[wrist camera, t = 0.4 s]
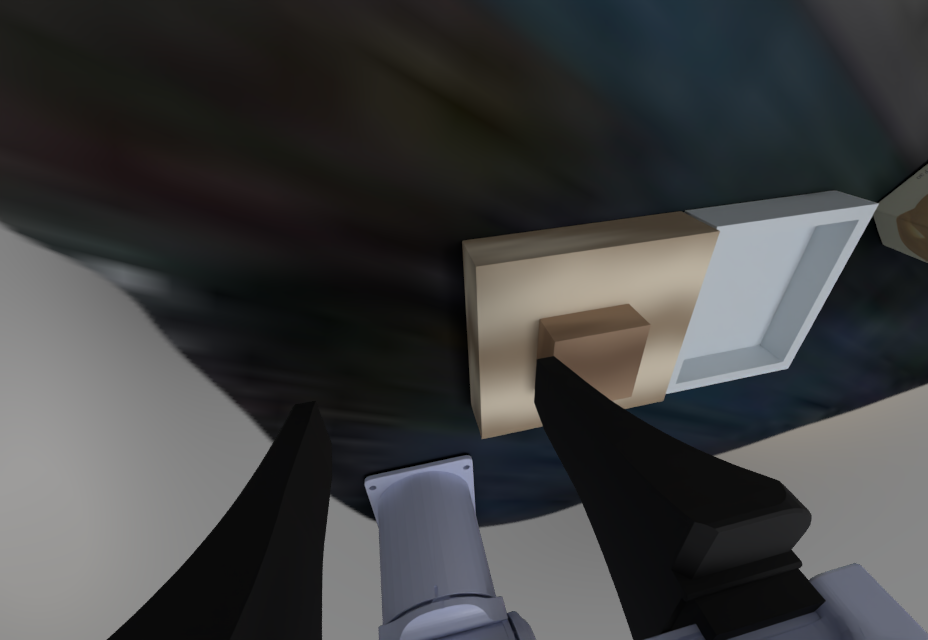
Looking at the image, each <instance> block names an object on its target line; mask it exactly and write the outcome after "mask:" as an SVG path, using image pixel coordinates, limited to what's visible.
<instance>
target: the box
mask: <svg viewBox="0 0 928 640" xmlns="http://www.w3.org/2000/svg"><path fill="white" fill-rule="evenodd" d="M878 205H879V203H876V202H872V201H869V200H866V199H863V198H859V197H856V196H853V195H849V194H846V193H843V192H839V191H836V190H833V191H826V192H819V193H811V194H804V195H796V196H789V197H782V198H774V199H767V200H759V201H752V202H745V203H737V204H730V205H723V206H715V207H708V208H700V209H693V210H686V211H685V212H684V213H685V214H687V215H689V216H691V217H693V218H695V219H697V220H699V221H701V222H703V223H705V224H707V225H709V226H711V227H713V228H715V229H717V230H719V231H720V233H719V236H718V239H717V242H716V245H715V248H714V251H713V254H712V257H711V260H710V263H709V266H708V269H707V272H706V275H705V278H704V281H703V284H702V286H701V289H700V292H699V295H698V298H697V301H696V304H695V307H694V310H693V313H692V316H691V319H690V322H689V325H688V328H687V331H686V334H685V337H684V340H683V343H682V346H681V349H680V352H679V355H678V358H677V361H676V364H675V367H674V370H673V373H672V376H671V379H670V382H669V385H668V388H667V391H666V394H668V393H673V392H678V391H683V390H687V389H692V388H697V387H702V386H707V385H711V384H716V383H721V382H726V381H730V380H735V379H740V378H745V377H750V376H754V375H759V374H764V373H769V372H774V371H778V370H783V369H788V368H789V366H790V364H791V362H792V360H793V359H794V357H795V355H796V353H797V351H798V349H799V348H800V346H801V344H802V342H803V340H804V339H805V337H806V335H807V333H808V331H809V330H810V328H811V326H812V324H813V322H814V321H815V319H816V317H817V315H818V313H819V312H820V310H821V308H822V306H823V304H824V302H825V301H826V299H827V297H828V295H829V293H830V292H831V290H832V288H833V286H834V284H835V283H836V281H837V279H838V277H839V275H840V274H841V272H842V270H843V268H844V266H845V264H846V263H847V261H848V259H849V257H850V255H851V254H852V252H853V250H854V248H855V246H856V245H857V243H858V241H859V239H860V237H861V236H862V234H863V232H864V230H865V228H866V227H867V225H868V223H869V221H870V219H871V217H872V216H873V214H874V212H875V210H876V208H877V207H878Z"/></svg>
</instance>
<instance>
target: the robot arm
mask: <svg viewBox="0 0 928 640" xmlns="http://www.w3.org/2000/svg"><path fill="white" fill-rule="evenodd" d="M534 404H535V407H536V409H537V412H538V415H539V417H540V420H541V422H542V425H543V428H544V430H545V432H546V434H547V436H548V438H549V440H550V441H551V443H552V445H553V447H554V449H555V451H556V453H557V455H558V457H559V458H560V460H561V462H562V464H563V466H564V468H565V470H566V471H567V473H568V475H569V477H570V479H571V481H572V483H573V485H574V486H575V488H576V491H577V493H578V495H579V497H580V499H581V501H582V503H583V506H584V508H585V511H586V513H587V515H588V518H589V520H590V523H591V525H592V528H593V530H594V533H595V535H596V538H597V540H598V543H599V545H600V548H601V550H602V552H603V555H604V558H605V561H606V563H607V566H608V569H609V572H610V574H611V577H612V580H613V582H614V585H615V588H616V590H617V593H618V596H619V599H620V602H621V605H622V608H623V611H624V613H625V616H626V619H627V622H628V625H629V628H630V631H631V634H632V637H633V640H928V633H927V632H926V631H925V630H924V629H923V628H922V627H921V626H920V625H919V624H918V623H917V622H916V621H915V620H914V619H913V618H912V617H911V616H910V615H909V614H908V613H907V612H906V611H905V610H904V609H903V608H902V607H901V606H900V605H899V604H898V603H897V602H896V601H895V600H894V599H893V598H892V597H891V596H890V595H889V594H888V593H887V591H886V590H885V589H884V588H883V587H882V586H881V585H880V584H879V583H878V582H877V581H876V580H875V579H874V578H873V577H872V576H871V575H870V574H869V573H868V572H867V571H866V570H865V569H864V568H863V567H862V566H861V565H860V564H856V563H853V564H850V565H847V566H843V567H840V568H837V569H834V570H830V571H827V572H824V573H821V574H818V575H816V576H815V577H813V578H811V579H810V580H808V579H807V578H806V577H805V576H804V575H803V573H802V572H801V571H800V570H799V569H798V568H800V567H801V566H802V562H801V560H800V559H799V558H798V557H797V556H796V555H795V553H794V552H793V551H792V550H791V549H792V548H793V547H794V546H795V544H796V543H797V542H798V541H799V539H800V538H801V537H802V536H803V535H804V533H805V532H806V530H807V529H808V528H809V526H810V523H811V513H810V512H809V510H808V509H807V508H806V507H805V506H804V505H803V504H802V503H801V502H800V501H799V500H798V499H797V498H796V497H795V496H794V495H793V494H792V493H791V492H790V491H789V490H788V489H787V488H786V487H785V486H784V485H783V484H782V483H781V482H780V481H778V480H775V479H773V478H770V477H767V476H764V475H761V474H758V473H756V472H753V471H750V470H747V469H744V468H741V467H739V466H736V465H733V464H731V463H729V462H726V461H724V460H721V459H719V458H716V457H714V456H712V455H709V454H707V453H705V452H703V451H700V450H698V449H696V448H694V447H692V446H690V445H687V444H685V443H683V442H681V441H679V440H677V439H675V438H673V437H671V436H669V435H667V434H665V433H664V432H662V431H660V430H658V429H656V428H655V427H653V426H651V425H649V424H648V423H646V422H644V421H642V420H641V419H639V418H637V417H636V416H634V415H633V414H631V413H629V412H628V411H626V410H625V409H623V408H622V407H620V406H619V405H617V404H616V403H614V402H613V401H612V400H610V399H609V398H607V397H606V396H605V395H603V394H602V393H601V392H599V391H598V390H597V389H595V388H594V387H592V386H591V385H590V384H589V383H587V382H586V381H585V380H583V379H582V378H581V377H580V376H578V375H577V374H576V373H575V372H573V371H572V370H571V369H570V368H568V367H567V366H566V365H565V364H563V363H562V362H561V361H560V360H558V359H557V358H556V357H555V356H551V357H546V358H540V359H537V363H536V379H535V395H534ZM331 480H332V444H331V441H330V438H329V436H328V433H327V430H326V427H325V425H324V422H323V419H322V417H321V414H320V411H319V409H318V406H317V403H316V401H312V402H307V403H302V404H296V405H295V406H294V407H293V408H292V410H291V412H290V414H289V415H288V417H287V419H286V421H285V423H284V425H283V426H282V428H281V430H280V432H279V434H278V435H277V437H276V439H275V440H274V442H273V444H272V446H271V447H270V449H269V451H268V452H267V454H266V456H265V457H264V459H263V460H262V462H261V464H260V465H259V467H258V468H257V470H256V472H255V473H254V474H253V476H252V478H251V479H250V480H249V482H248V483H247V485H246V486H245V488H244V489H243V491H242V492H241V494H240V495H239V496H238V498H237V499H236V501H235V502H234V504H233V505H232V506H231V507H230V509H229V510H228V511H227V513H226V514H225V515H224V517H223V518H222V519H221V521H220V522H219V523H218V524H217V525H216V527H215V528H214V529H213V530H212V532H211V533H210V534H209V535H208V536H207V538H206V539H205V540H204V541H203V542H202V543H201V545H200V546H199V547H198V548H197V549H196V550H195V552H194V553H193V554H192V555H191V556H190V557H189V559H188V560H187V561H186V562H185V563H184V564H183V565H182V566H181V567H180V569H179V570H178V571H177V572H176V573H175V574H174V575H173V576H172V577H171V578H170V579H169V580H168V581H167V582H166V583H165V584H164V585H163V586H162V587H161V588H160V589H159V590H158V591H157V592H156V593H155V594H154V596H153V597H151V598H150V599H149V601H147V603H145V605H143V606H142V607H141V608H140V609H139V610H138V611H137V612H136V613H135V614H134V615H133V616H132V617H131V618H130V619H129V620H128V621H127V622H126V623H125V624H124V625H122V626H121V627H120V628H119V629H118V630H117V631H116V632H115V633H114V634H113V635H111V636H110V638H108V639H107V640H322V569H323V568H322V567H323V551H324V541H325V532H326V524H327V515H328V507H329V498H330V489H331ZM365 488H366V491H367V494H368V497H369V500H370V503H371V506H372V509H373V512H374V515H375V518H376V521H377V524H378V527H379V544H380V568H381V592H382V616H383V625H381V626H379V640H536V638H535V636H534V633H533V631H532V629H531V627H530V625H529V624H528V623H527V622H526V621H525V620H524V619H523V618H522V617H520V615H519V614H518V613H517V612H515V611H512V612H509V613H507V612H506V609H505V605H504V601H503V598H502V596H499V597H496V595H495V590H494V587H493V582H492V579H491V575H490V570H489V567H488V562H487V558H486V554H485V550H484V546H483V542H482V538H481V534H480V530H479V526H478V522H477V518H476V512H475V495H474V479H473V462H472V458H471V456H469V455H463V456H459V457H454V458H450V459H445V460H440V461H436V462H431V463H426V464H422V465H417V466H413V467H408V468H403V469H399V470H394V471H389V472H385V473H380V474H376V475H371V476H368V477H366V478H365Z"/></svg>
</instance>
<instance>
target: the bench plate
mask: <svg viewBox="0 0 928 640" xmlns="http://www.w3.org/2000/svg"><path fill="white" fill-rule="evenodd" d="M719 233H720V231H719V230H717V229H715V228H713V227H711V226H709V225H707V224H705V223H703V222H701V221H699V220H697V219H695V218H693V217H691V216H689V215H687V214H685V213H684V212H682V211H678V212H671V213H663V214H656V215H649V216H641V217H634V218H627V219H619V220H612V221H604V222H597V223H590V224H582V225H575V226H567V227H560V228H553V229H545V230H538V231H531V232H523V233H516V234H508V235H501V236H494V237H486V238H479V239H471V240H464V241H462V249H463V267H464V285H465V303H466V321H467V338H468V356H469V374H470V392H471V405H472V409H473V412H474V415H475V418H476V421H477V424H478V428H479V431H480V434H481V437H482V439H485V438H489V437H494V436H499V435H504V434H508V433H513V432H518V431H523V430H527V429H532V428H537V427H541V426H543V425H542V422H541V420H540V417H539V415H538V412H537V409H536V407H535V404H534V395H535V376H536V362H537V348H538V334H539V320H540V319H541V318H547V317H553V316H559V315H565V314H571V313H577V312H583V311H588V310H594V309H600V308H606V307H612V306H618V305H624V304H630V305H631V306H632V307H633V308H634V309H635V310H636V311H637V312H638V313H639V314H640V315H641V316H642V317H643V318H644V319H645V320H646V321H647V322H649V323H650V324H651V326H650V330H649V334H648V337H647V341H646V345H645V349H644V352H643V356H642V360H641V363H640V367H639V371H638V375H637V378H636V382H635V386H634V389H633V393H632V397H628V398H624V399H619V400H614V401H613V402H614V403H616V404H617V405H619V406H620V407H622V408H623V409H627V408H631V407H636V406H641V405H646V404H650V403H655V402H660V401H663V400H664V397H665V394H666V391H667V388H668V385H669V382H670V379H671V376H672V373H673V370H674V367H675V364H676V361H677V358H678V355H679V352H680V349H681V346H682V343H683V340H684V337H685V334H686V331H687V328H688V325H689V322H690V319H691V316H692V313H693V310H694V307H695V304H696V301H697V298H698V295H699V292H700V289H701V286H702V284H703V281H704V278H705V275H706V272H707V269H708V266H709V263H710V260H711V257H712V254H713V251H714V248H715V245H716V242H717V239H718V236H719Z"/></svg>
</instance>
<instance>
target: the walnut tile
mask: <svg viewBox="0 0 928 640" xmlns="http://www.w3.org/2000/svg"><path fill="white" fill-rule="evenodd" d="M650 326H651V324H650V323H649V322H647V321H646V320H645V319H644V318H643V317H642V316H641V315H640V314H639V313H638V312H637V311H636V310H635V309H634V308H633V307H632V306H631V305H630V304H624V305H618V306H612V307H606V308H600V309H594V310H588V311H583V312H577V313H571V314H565V315H559V316H553V317H547V318H541V319H540V320H539V334H538V348H537V359H540V358H546V357H551V356H555V357H556V358H557V359H558V360H560V361H561V362H562V363H563V364H565V365H566V366H567V367H568V368H570V369H571V370H572V371H573V372H575V373H576V374H577V375H578V376H580V377H581V378H582V379H583V380H585V381H586V382H587V383H589V384H590V385H591V386H592V387H594V388H595V389H597V390H598V391H599V392H601V393H602V394H603V395H605V396H606V397H607V398H609V399H610V400H612V401H614V400H619V399H624V398H628V397H632V393H633V389H634V386H635V382H636V378H637V375H638V371H639V367H640V363H641V360H642V356H643V352H644V349H645V345H646V341H647V337H648V334H649V330H650ZM536 363H537V362H536ZM535 379H536V376H535Z"/></svg>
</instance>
